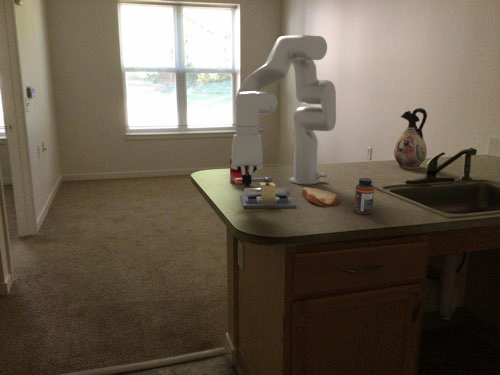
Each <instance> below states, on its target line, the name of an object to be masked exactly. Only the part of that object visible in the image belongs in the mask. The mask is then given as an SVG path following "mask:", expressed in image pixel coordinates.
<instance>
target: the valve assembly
mask: <svg viewBox="0 0 500 375" xmlns="http://www.w3.org/2000/svg"><path fill="white" fill-rule="evenodd" d="M258 183H259V185H258V186H259V187H256V188H255V187H247V188H246V187H245V188H244V190H243V191H244V192H243V194H239V199H240V201H241V205H242V207H243V209H276V208H277V209H280V208H281V209H285V208H286V209H287V208H294V209H296V208H297V203H296V201H294V200H293V199H292V197H291V194H292V193H291V188H290V187H276V186H277V185H276V184H275V183H274V182H258Z"/></svg>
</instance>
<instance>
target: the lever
mask: <svg viewBox="0 0 500 375" xmlns="http://www.w3.org/2000/svg"><path fill="white" fill-rule="evenodd" d="M266 182H270V183H273V177H271V176H263V177H251V183H266ZM235 183H242V178H235Z"/></svg>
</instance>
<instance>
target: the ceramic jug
mask: <svg viewBox="0 0 500 375" xmlns="http://www.w3.org/2000/svg"><path fill="white" fill-rule="evenodd" d="M418 113H421V115H422V120H421V121H420V118H419V116H418V115H417V114H418ZM400 118H402V119H404V120H406V121H408V126H407V127H406V129H405V130H404V131H403V132H402V134H401V135H400V137H399V138H398V140H397V141H396V144H395V146H394V147H395V148H394V150H393V155H394V159H395V161H396V163H397V164H398V166H399V168H400V169H406V170H407V169H408V170H416V169H417V170H418V169H420V165H422V164H423V162H425V160H426V158H427V152H428V151H427V145H426V141H425V139H424V135H423V128H424V125H425V123H426V121H427V118H428V114H427V110H425V109H424V108H422V107H419V108H415V109H414V110H413V111H410V110H407V111H404V112H403V114H401V115H400ZM417 122H421V123H420V124H419V127H418V126H417Z"/></svg>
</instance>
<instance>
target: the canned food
mask: <svg viewBox="0 0 500 375" xmlns="http://www.w3.org/2000/svg"><path fill="white" fill-rule="evenodd" d="M231 163H232V160H231V155H230V157H229V168H230V169H229V181H230V183H231V184H234V185H243V184H242V183H235V178H242V174H241V173H240V172H239V171H238V170H236V169H232V168H231ZM248 170H249V166H245V172H246V174H247V172H248Z"/></svg>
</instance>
